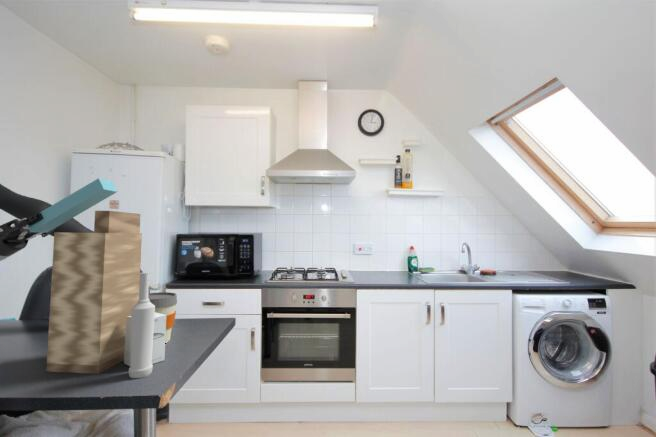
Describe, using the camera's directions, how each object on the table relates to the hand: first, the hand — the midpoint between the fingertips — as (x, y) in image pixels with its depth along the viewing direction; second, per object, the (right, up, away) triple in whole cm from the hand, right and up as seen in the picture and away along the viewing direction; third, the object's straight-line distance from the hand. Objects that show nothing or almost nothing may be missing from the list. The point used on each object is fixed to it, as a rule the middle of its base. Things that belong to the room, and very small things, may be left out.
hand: (50, 215), depth 90 cm
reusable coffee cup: (+23, -41, +12) cm, 48 cm away
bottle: (+32, -40, -11) cm, 52 cm away
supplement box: (+29, -40, -4) cm, 49 cm away
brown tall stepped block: (+15, -40, -3) cm, 43 cm away
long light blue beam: (+6, +3, 0) cm, 7 cm away
